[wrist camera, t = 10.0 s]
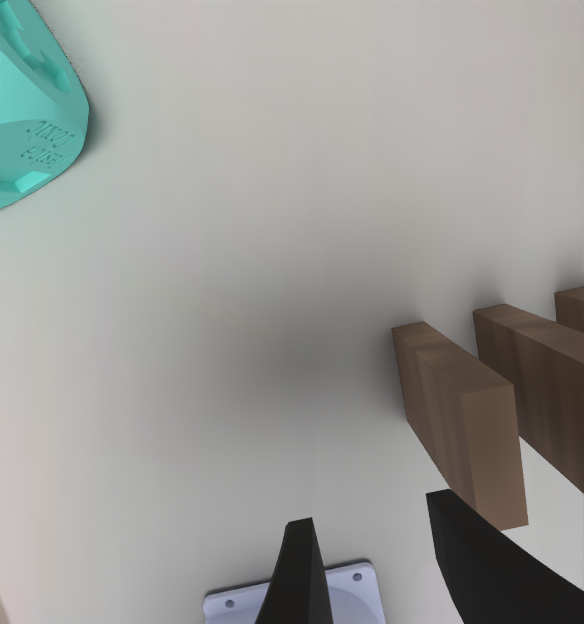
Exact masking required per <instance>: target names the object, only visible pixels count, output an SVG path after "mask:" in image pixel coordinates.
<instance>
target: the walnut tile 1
mask: <svg viewBox="0 0 584 624" xmlns="http://www.w3.org/2000/svg"><path fill="white" fill-rule="evenodd" d="M392 334H393V339H394V345H395V351H396V357H397V363H398V369H399V375H400V380H401V386H402V392H403V398H404V404H405V410H406V415H407V421H408V423H409V424H410V426H411V428H412V429H413V431H414V432H415V434H416V435H417V437H418V439H419V440H420V442H421V443H422V445H423V446H424V448H425V449H426V451H427V453H428V454H429V456H430V457H431V459H432V460H433V462H434V464H435V465H436V467H437V468H438V470H439V471H440V473H441V474H442V476H443V478H444V479H445V481H446V482H447V484H448V485H449V487H450V488H451V490H452V491H453V492H454V493H456V494H457V495H458V496H459V497H460V498H461V499H462V500H463V501H465V502H466V503H467V504H468V505H469V506H470V507H471V508H473V509H474V510H475V511H476V512H477V513H478V514H480V515H481V516H482V517H483V518H484V519H486V520H487V521H488V522H489V523H490V524H492V525H493V526H494V527H495V528H496V529H498V530H499V531H502V530H507V529H511V528H516V527H521V526H526V525H529V524H528V515H527V506H526V497H525V488H524V478H523V469H522V460H521V451H520V442H519V433H518V424H517V414H516V405H515V396H514V387H513V384H512V383H511V382H509V381H508V380H506V379H505V378H504V377H502V376H501V375H499V374H498V373H496V372H495V371H494V370H492V369H491V368H489V367H488V366H487V365H485V364H484V363H482V362H481V361H479V360H478V359H477V358H475V357H474V356H472V355H471V354H469V353H468V352H467V351H465V350H464V349H462V348H461V347H460V346H458V345H457V344H455V343H454V342H452V341H451V340H450V339H448V338H447V337H445V336H444V335H442V334H441V333H440V332H438V331H437V330H435V329H434V328H433V327H431V326H430V325H428V324H427V323H425V322H420V323H415V324H411V325H406V326H401V327H397V328H392Z"/></svg>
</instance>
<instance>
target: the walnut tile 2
mask: <svg viewBox="0 0 584 624" xmlns="http://www.w3.org/2000/svg"><path fill="white" fill-rule="evenodd" d="M473 316H474V324H475V332H476V340H477V348H478V356H479V361H481V362H482V363H484V364H485V365H487V366H488V367H489V368H491V369H492V370H494V371H495V372H496V373H498V374H499V375H501V376H502V377H504V378H505V379H506V380H508V381H509V382H511V383H512V384H513V387H514V396H515V405H516V414H517V424H518V433H519V436H520V437H521V438H522V439H523V440H525V441H526V442H527V443H528V444H529V445H530V446H531V447H532V448H533V449H535V450H536V451H537V452H538V453H539V454H540V455H541V456H542V457H543V458H545V459H546V460H547V461H548V462H549V463H550V464H551V465H552V466H553V467H555V468H556V469H557V470H558V471H559V472H560V473H561V474H562V475H563V476H565V477H566V478H567V479H568V480H569V481H570V482H571V483H572V484H574V485H575V486H576V487H577V488H578V489H579V490H580V491H581V492H582V493H584V333H582V332H579V331H577V330H574V329H571V328H569V327H566V326H563V325H561V324H558V323H555V322H553V321H550V320H547V319H545V318H542V317H539V316H537V315H534V314H531V313H529V312H526V311H523V310H521V309H518V308H515V307H513V306H510V305H507V304H502V305H498V306H493V307H488V308H484V309H479V310H475V311H473Z"/></svg>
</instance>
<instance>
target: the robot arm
mask: <svg viewBox="0 0 584 624" xmlns="http://www.w3.org/2000/svg"><path fill="white" fill-rule="evenodd" d="M426 498H427V505H428V511H429V517H430V523H431V529H432V536H433V542H434V548H435V554H436V559H437V562H438V565H439V567H440V570H441V572H442V575H443V578H444V580H445V583H446V585H447V588H448V590H449V593H450V595H451V598H452V600H453V602H454V604H455V606H456V608H457V610H458V612H459V614H460V616H461V618H462V620H463V622H464V624H584V591H583V590H581V589H580V588H578V587H576V586H575V585H573V584H572V583H570V582H569V581H567V580H566V579H564V578H563V577H561V576H560V575H558V574H557V573H555V572H554V571H553V570H551V569H550V568H548V567H547V566H545V565H544V564H543V563H541V562H540V561H538V560H537V559H536V558H534V557H533V556H531V555H530V554H529V553H527V552H526V551H525V550H523V549H522V548H521V547H519V546H518V545H517V544H516V543H514V542H513V541H512V540H510V539H509V538H508V537H507V536H505V535H504V534H503V533H501V532H500V531H499V530H498V529H496V528H495V527H494V526H493V525H492V524H490V523H489V522H488V521H487V520H486V519H484V518H483V517H482V516H481V515H480V514H478V513H477V512H476V511H475V510H474V509H473V508H471V507H470V506H469V505H468V504H467V503H466V502H465V501H463V500H462V499H461V498H460V497H459V496H458V495H457V494H456V493H454V492H453V491H452V490H450V489H445V490H440V491H436V492H431V493H426ZM356 573H359V575H354V574H356ZM228 600H232V602H229V601H228ZM203 610H204V614H205V617H206V621H205V624H386V622H385V617H384V613H383V608H382V603H381V598H380V593H379V588H378V584H377V579H376V574H375V570H374V567H373V565H372V564H370V563H367V562H364V563H359V564H354V565H349V566H345V567H340V568H335V569H330V570H326V571H324V566H323V562H322V558H321V554H320V549H319V545H318V541H317V537H316V533H315V528H314V524H313V520H312V517H310V518H306V519H301V520H296V521H291V522H289V523H288V524H287V525H286V527H285V533H284V537H283V542H282V546H281V549H280V553H279V556H278V560H277V563H276V566H275V570H274V572H273V575H272V578H271V581H270V582H269V583H264V584H259V585H255V586H250V587H245V588H240V589H236V590H231V591H226V592H221V593H217V594H212V595H209V596H207V597H206V598H205V599H204V602H203Z"/></svg>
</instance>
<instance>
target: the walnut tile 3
mask: <svg viewBox="0 0 584 624" xmlns="http://www.w3.org/2000/svg"><path fill="white" fill-rule="evenodd" d="M555 305H556V317H557V323H558V324H561V325H563V326H566V327H569V328H571V329H574V330H577V331H579V332H582V333H584V287H580V288H576V289H571V290H566V291H562V292H557V293H555Z"/></svg>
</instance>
